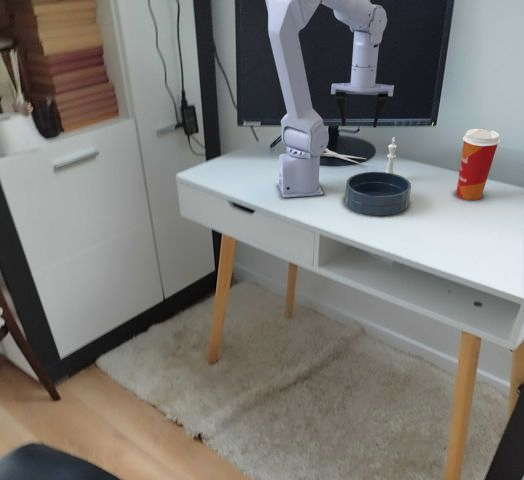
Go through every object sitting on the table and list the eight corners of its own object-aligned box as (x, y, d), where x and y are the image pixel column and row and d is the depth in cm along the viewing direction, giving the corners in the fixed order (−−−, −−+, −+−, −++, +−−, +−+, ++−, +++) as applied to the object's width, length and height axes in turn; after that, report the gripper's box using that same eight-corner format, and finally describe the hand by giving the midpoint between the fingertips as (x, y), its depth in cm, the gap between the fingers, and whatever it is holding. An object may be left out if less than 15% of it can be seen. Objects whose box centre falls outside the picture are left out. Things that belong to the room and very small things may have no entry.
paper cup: (456, 186, 131) (468, 125, 122) (489, 192, 127) (504, 130, 119) (447, 198, 125) (459, 136, 116) (481, 205, 122) (497, 141, 113)
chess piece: (397, 174, 137) (403, 134, 130) (399, 182, 133) (405, 141, 127) (377, 174, 137) (382, 133, 131) (379, 182, 133) (384, 140, 127)
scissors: (312, 141, 155) (376, 154, 145) (312, 144, 155) (376, 157, 146) (291, 153, 148) (357, 167, 139) (291, 155, 149) (357, 170, 139)
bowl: (353, 218, 118) (355, 199, 116) (338, 192, 129) (339, 173, 127) (417, 213, 120) (420, 194, 117) (396, 188, 131) (399, 169, 128)
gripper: (396, 61, 128) (389, 121, 137) (335, 60, 131) (331, 119, 139) (395, 68, 123) (388, 130, 131) (331, 67, 125) (328, 128, 134)
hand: (359, 125), depth 135 cm, fingers open, 7 cm apart
